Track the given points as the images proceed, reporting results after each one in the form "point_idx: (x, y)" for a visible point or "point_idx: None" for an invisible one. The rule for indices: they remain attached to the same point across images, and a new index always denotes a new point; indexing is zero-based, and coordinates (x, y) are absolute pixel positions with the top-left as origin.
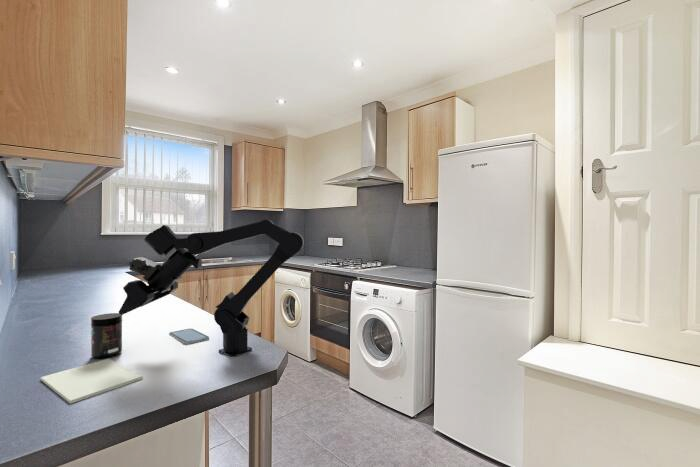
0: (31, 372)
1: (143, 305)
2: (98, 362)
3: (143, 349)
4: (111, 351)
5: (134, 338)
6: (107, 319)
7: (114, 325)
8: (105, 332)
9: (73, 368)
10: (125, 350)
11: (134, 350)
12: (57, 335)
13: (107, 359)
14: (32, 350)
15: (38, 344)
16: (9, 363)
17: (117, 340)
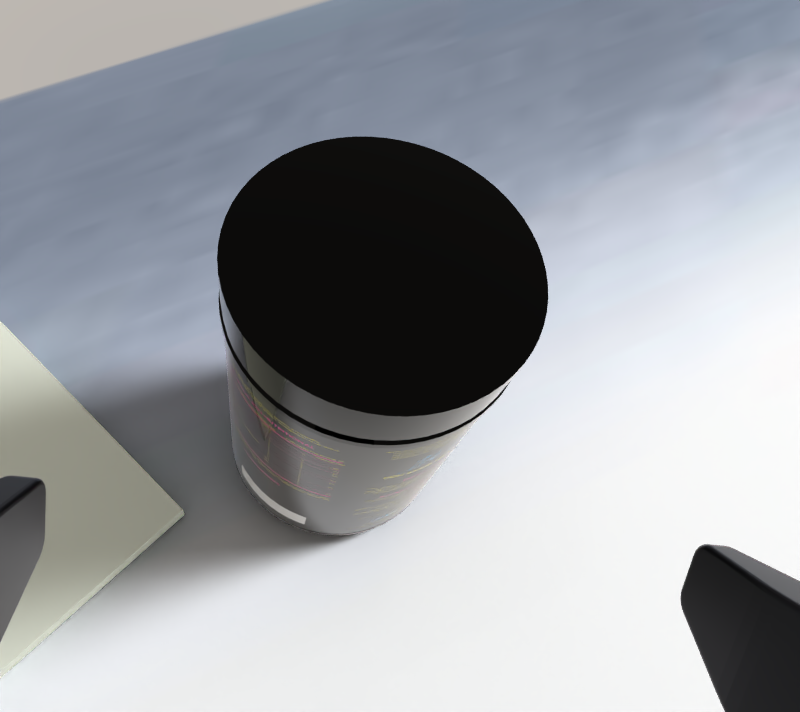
0: (105, 154)
1: (703, 652)
2: (105, 472)
3: (434, 694)
4: (256, 490)
5: (704, 476)
6: (233, 323)
7: (286, 421)
8: (230, 380)
9: (25, 354)
10: (424, 536)
11: (416, 617)
12: (708, 44)
13: (161, 511)
14: (478, 34)
15: (568, 24)
16: (292, 22)
17: (306, 496)
